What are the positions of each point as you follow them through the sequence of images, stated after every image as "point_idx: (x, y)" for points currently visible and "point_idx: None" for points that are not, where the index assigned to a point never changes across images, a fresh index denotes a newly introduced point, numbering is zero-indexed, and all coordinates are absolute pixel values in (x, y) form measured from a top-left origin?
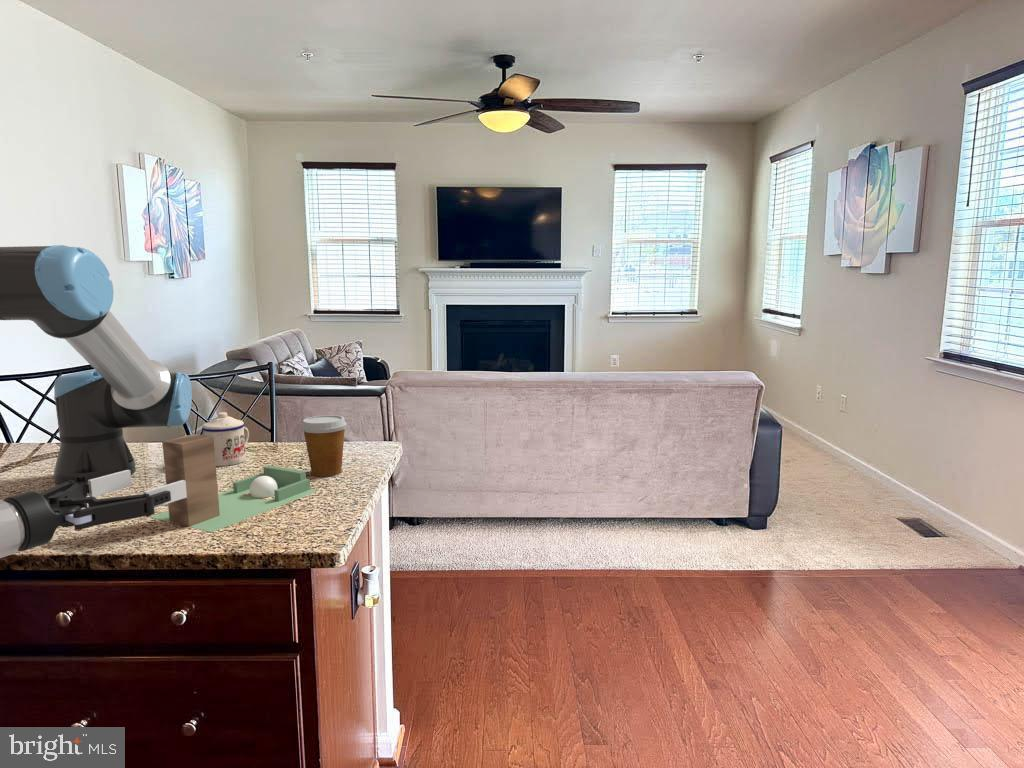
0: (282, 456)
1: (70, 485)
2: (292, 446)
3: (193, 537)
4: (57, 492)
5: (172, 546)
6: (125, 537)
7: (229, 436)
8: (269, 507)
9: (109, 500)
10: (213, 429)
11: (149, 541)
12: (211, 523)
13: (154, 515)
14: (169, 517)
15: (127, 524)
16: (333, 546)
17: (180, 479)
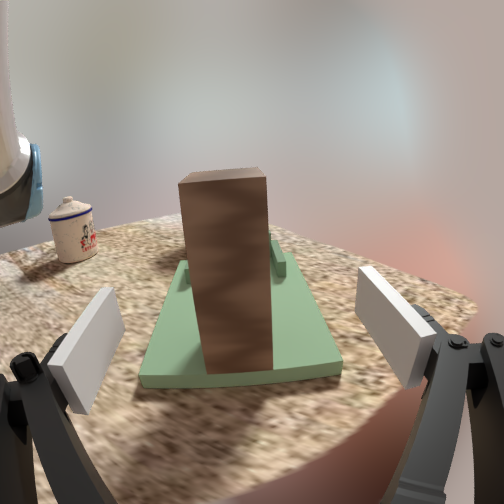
0: (130, 237)
1: (7, 402)
2: (120, 228)
3: (289, 384)
4: (6, 467)
5: (303, 423)
6: (149, 440)
7: (84, 221)
8: (300, 288)
9: (456, 439)
10: (67, 216)
11: (225, 433)
12: (293, 345)
13: (142, 367)
14: (206, 366)
15: (95, 397)
16: (467, 301)
17: (251, 275)
